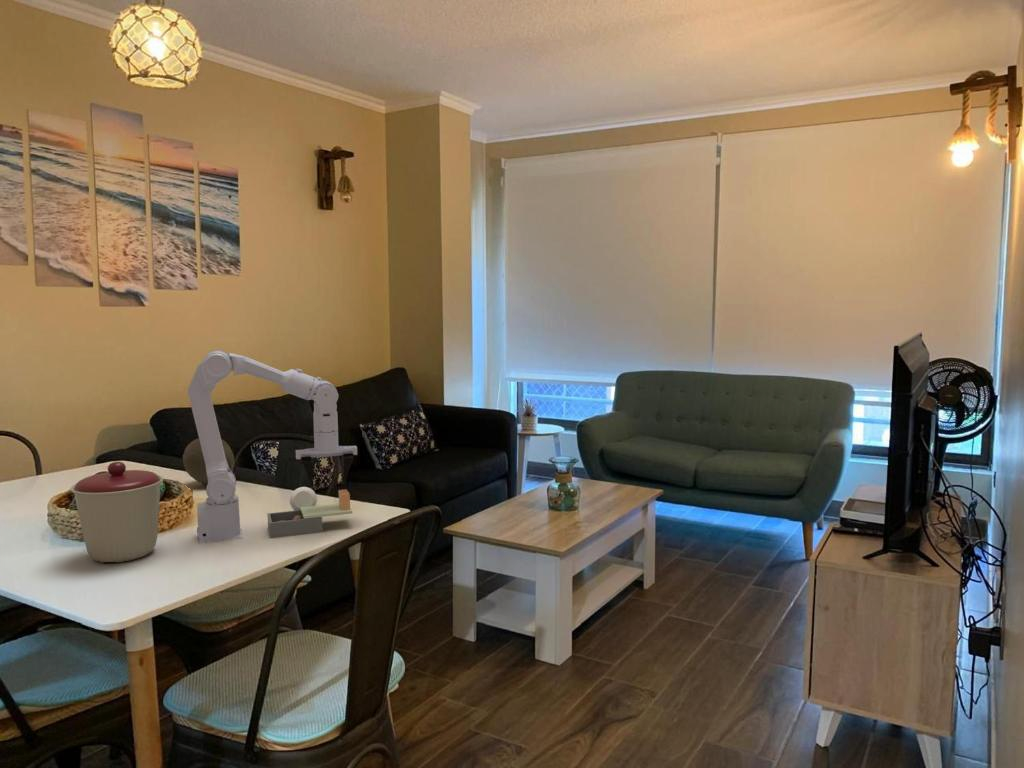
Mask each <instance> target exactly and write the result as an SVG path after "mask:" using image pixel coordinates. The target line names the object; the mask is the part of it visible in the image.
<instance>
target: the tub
mask: <svg viewBox="0 0 1024 768" xmlns="http://www.w3.org/2000/svg"><path fill="white" fill-rule="evenodd" d="M297 515H301V516H303V515H302V513H301V510H295V511H294V510H287V511H277V512H269V513H267V516H266V517H267V530H268V533H269V534H268V535H269V539H274V538H283V537H290V536H302V535H307V534H308V535H309V534H317V533H318V534H319V533H323V531H324V530H323V517H316V518H307V519H298V520H293V518H294V517H295V516H297ZM281 520H284V521H281ZM279 521H280V522H279Z"/></svg>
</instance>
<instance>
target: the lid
mask: <svg viewBox="0 0 1024 768" xmlns="http://www.w3.org/2000/svg"><path fill="white" fill-rule="evenodd" d="M350 496H351V494H350V492H349V491H348V490H347V489H338V503H330V504H321V505H316V506H310V507H301V508H300V510H301V513H302V515H303V518H304V519H307V518H316V517H322V518H325V517H333V516H340V515H341V516H343V515H350V514H353V510H352V508H351V497H350Z"/></svg>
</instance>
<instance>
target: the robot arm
mask: <svg viewBox="0 0 1024 768" xmlns="http://www.w3.org/2000/svg"><path fill="white" fill-rule="evenodd" d="M232 371H233V376H239V375H244V374H247V375H251V376H252V377H253V376H254V377H256V378H259V379H263V380H266V381H269V382H272V383H275V384H277V385H279V386H280V388H281V390H282V392H284V393H287V394H290V395H292V396H296V397H297V398H301V399H304V400H307V401H310V400H313V413H312V415H313V416H312V417H313V419H312V420H313V438H314V439H313V441H314V444H313V446H314V447H312V448H303V449H295V459H296V460H300V461H301V464H302V465H303V467H304V469H305V472H306V475H307V479H308V482H309V488H310V489H313V488H314V487H315V485H314V484H315V483H314V475H313V473H314V472H313V459H312V458H323V457H337V456H340V462H341V484H342V486H346V485H347V479H348V478H347V477H348V474H349V471H350V468H351V465H352V464H353V462H354V456H358V447H357V445H339V423H338V421H339V420H338V419H339V418H338V411H337V409H338V405H337V402H338V400H339V393H338V390H337V388H336V387H335V386H334V385H333V383H331V382H329V381H328V380H326V379H322V377H320V376H316V377H314V376H312V375H309V374H307V373H303V370H302V369H300V368H296V369H292V368H290V369H288V370H285V371H282V370H280V369H278V368H275V367H273V366H270V365H268V364H265V363H262V362H261V361H258V360H255V359H252V358H251V357H247V356H245V355H241V354H236V353H233V352H229V353H228V352H227V351H225V350H223V349H217V350H212V351H210V352H208V353H207V354H206V355H205V356H204V357H203V359H202V360H201V361H200V362H199V364H198V365H197V367H196V370H195V372H194V374H193V377H192V379H191V380H190V383H189V386H188V387H187V395H188V399H189V403H190V406H191V407H190V408H191V410H192V411H191V412H192V415H193V418H194V419H193V420H194V424H195V428H196V431H197V436H198V438H199V440H200V444H201V448H202V452H203V456H204V460H205V465H206V472H207V478H208V485H206V495H207V497H206V498H205V501H204V502H199V503H197V504H196V513H197V527H196V533H197V535H198V543H199V544H204V543H214V542H223V541H231V540H239V539H243V529H242V528H241V517H240V501H239V500H240V499H239V498H240V497H239V496H238V495H237V494H236V484H237V479H236V476H235V474H234V473H233V472H231V471H230V469H229V467H228V463H227V460H226V457H225V453H224V449H223V445H222V441H221V439H222V438H221V433H220V429H219V425H218V421H217V417H216V412H215V409H214V403H213V401H212V396H211V393H212V392H213V391H214V389H215V388H216V387H217V385H218V384H219V383H220V382H221V381H223V380H224V379H226V378H228V377H229V376H230V374H231V372H232Z"/></svg>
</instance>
